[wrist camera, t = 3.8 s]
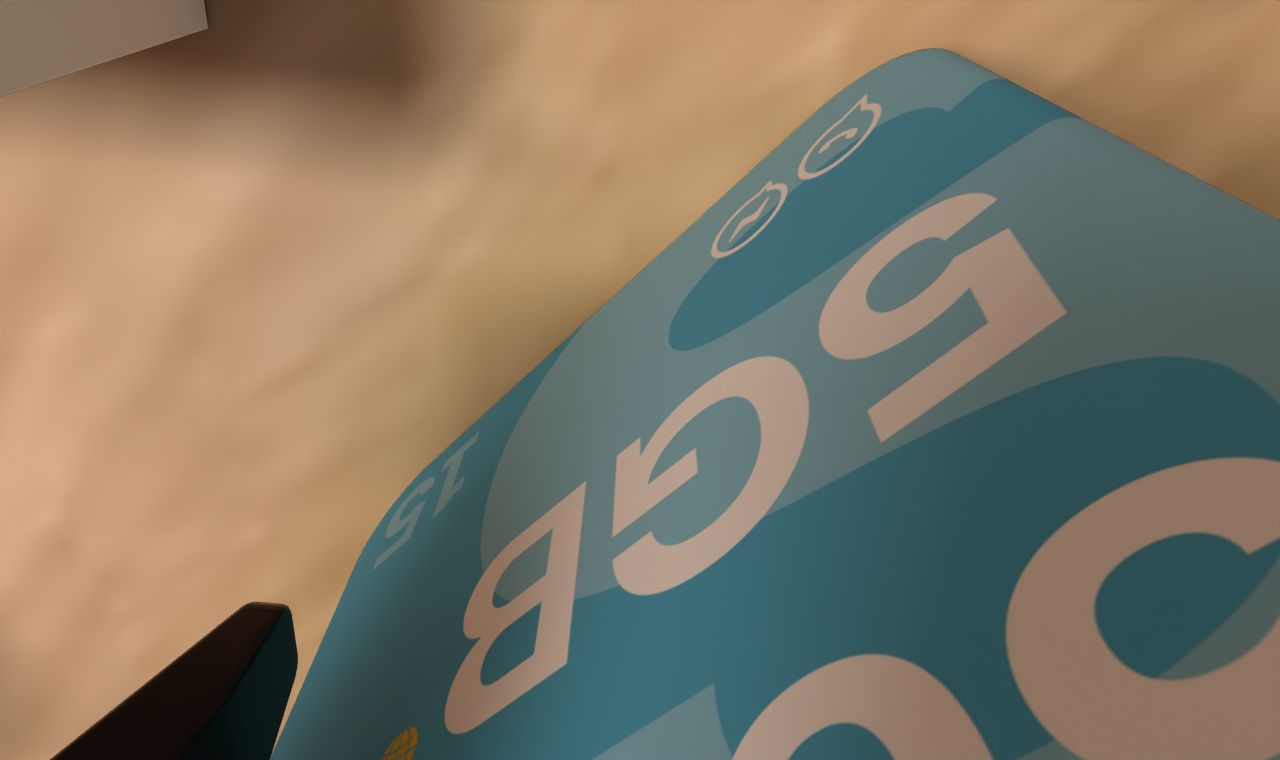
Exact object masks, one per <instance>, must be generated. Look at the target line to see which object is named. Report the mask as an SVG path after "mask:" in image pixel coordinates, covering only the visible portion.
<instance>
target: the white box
mask: <svg viewBox="0 0 1280 760" xmlns="http://www.w3.org/2000/svg"><path fill="white" fill-rule="evenodd" d="M205 29H208V24H207V18H206V11H205V4H204V0H0V97H1V96H4V95H7V94H10V93H13V92H16V91H19V90H22V89H25V88H28V87H31V86H34V85H37V84H40V83H43V82H47V81H50V80H53V79H56V78H59V77H62V76H65V75H68V74H71V73H74V72H77V71H80V70H83V69H86V68H89V67H92V66H95V65H98V64H101V63H104V62H108V61H111V60H114V59H117V58H120V57H123V56H126V55H129V54H132V53H135V52H138V51H141V50H144V49H147V48H150V47H153V46H156V45H159V44H162V43H165V42H169V41H172V40H175V39H178V38H181V37H184V36H187V35H190V34H193V33H196V32H199V31H202V30H205Z"/></svg>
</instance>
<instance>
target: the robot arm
mask: <svg viewBox="0 0 1280 760" xmlns="http://www.w3.org/2000/svg"><path fill="white" fill-rule="evenodd" d="M297 664H298V653H297V647H296V640H295V633H294V626H293V620H292V614H291V611H290V609H289V607H288V606H287V605H284V604H278V603H265V602H251V603H248V604H246V605H244V606H242V607H241V608H240V609H239V610H237V611H236V612H235V613H234V614H232V615H231V616H230V617H228V618H227V619H226V620H225V621H223V622H222V623H221V624H220V625H218V626H217V627H216V628H215V629H213V630H212V631H211V632H210V633H208V634H207V635H206V636H205V637H203V638H202V639H201V640H200V641H198V642H197V643H196V644H195V645H193V646H192V647H191V648H190V649H188V650H187V651H186V652H184V653H183V654H182V655H181V656H179V657H178V658H177V659H176V660H174V661H173V662H172V663H171V664H169V665H168V666H167V667H166V668H164V669H163V670H162V671H161V672H159V673H158V674H157V675H156V676H154V677H153V678H152V679H151V680H149V681H148V682H147V683H146V684H144V685H143V686H142V687H141V688H139V689H138V690H137V691H135V692H134V693H133V694H132V695H130V696H129V697H128V698H127V699H125V700H124V701H123V702H122V703H120V704H119V705H118V706H117V707H115V708H114V709H113V710H112V711H110V712H109V713H108V714H107V715H105V716H104V717H103V718H102V719H100V720H99V721H98V722H97V723H95V724H94V725H93V726H92V727H90V728H89V729H88V730H86V731H85V732H84V733H83V734H81V735H80V736H79V737H78V738H76V739H75V740H74V741H73V742H71V743H70V744H69V745H68V746H66V747H65V748H64V749H63V750H61V751H60V752H59V753H58V754H56V755H55V756H54V757H53V758H51V759H50V760H270V757H271V754H272V751H273V748H274V745H275V741H276V738H277V735H278V732H279V728H280V725H281V722H282V719H283V715H284V712H285V709H286V706H287V702H288V699H289V696H290V693H291V689H292V686H293V683H294V680H295V676H296V671H297Z"/></svg>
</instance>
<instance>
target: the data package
mask: <svg viewBox="0 0 1280 760" xmlns="http://www.w3.org/2000/svg"><path fill="white" fill-rule="evenodd" d="M270 760H1280V221H1279V220H1277V219H1276V218H1274V217H1272V216H1270V215H1268V214H1266V213H1264V212H1262V211H1260V210H1258V209H1256V208H1254V207H1252V206H1250V205H1248V204H1246V203H1245V202H1243V201H1241V200H1239V199H1237V198H1235V197H1233V196H1231V195H1229V194H1227V193H1225V192H1223V191H1221V190H1219V189H1217V188H1216V187H1214V186H1212V185H1210V184H1208V183H1206V182H1204V181H1202V180H1200V179H1198V178H1196V177H1194V176H1192V175H1190V174H1188V173H1187V172H1185V171H1183V170H1181V169H1179V168H1177V167H1175V166H1173V165H1171V164H1169V163H1167V162H1165V161H1163V160H1161V159H1159V158H1157V157H1156V156H1154V155H1152V154H1150V153H1148V152H1146V151H1144V150H1142V149H1140V148H1138V147H1136V146H1134V145H1132V144H1130V143H1128V142H1127V141H1125V140H1123V139H1121V138H1119V137H1117V136H1115V135H1113V134H1111V133H1109V132H1107V131H1105V130H1103V129H1101V128H1099V127H1098V126H1096V125H1094V124H1092V123H1090V122H1088V121H1086V120H1084V119H1082V118H1080V117H1078V116H1076V115H1074V114H1072V113H1070V112H1069V111H1067V110H1065V109H1063V108H1061V107H1059V106H1057V105H1055V104H1053V103H1051V102H1049V101H1047V100H1045V99H1043V98H1041V97H1039V96H1038V95H1036V94H1034V93H1032V92H1030V91H1028V90H1026V89H1024V88H1022V87H1020V86H1018V85H1016V84H1014V83H1012V82H1010V81H1009V80H1007V79H1005V78H1003V77H1001V76H999V75H997V74H995V73H993V72H991V71H989V70H987V69H985V68H983V67H981V66H980V65H978V64H976V63H974V62H972V61H970V60H968V59H966V58H964V57H962V56H960V55H958V54H956V53H954V52H952V51H948V50H945V49H933V48H931V49H923V50H918V51H914V52H911V53H907V54H905V55H902V56H900V57H897V58H895V59H892V60H890V61H888V62H886V63H884V64H882V65H880V66H879V67H877V68H875V69H873V70H872V71H870V72H868V73H867V74H865V75H864V76H862V77H860V78H859V79H857V80H856V81H855V82H853V83H852V84H850V85H849V86H847V87H846V88H845V89H843V90H842V91H841V92H839V93H838V94H837V95H835V96H834V97H833V98H832V99H830V100H829V101H828V102H827V103H825V104H824V105H823V106H822V107H821V108H820V109H818V110H817V111H816V112H815V113H814V114H813V115H812V116H811V117H809V118H808V119H807V120H806V121H805V122H804V123H803V124H802V125H801V126H800V127H798V128H797V129H796V130H795V131H794V132H793V133H792V134H791V135H790V136H789V137H788V138H786V139H785V140H784V141H783V142H782V143H781V144H780V145H779V146H778V147H777V148H775V149H774V150H773V151H772V152H771V153H770V154H769V155H768V156H767V157H766V158H765V159H763V160H762V161H761V162H760V163H759V164H758V165H757V166H756V167H755V168H754V169H752V170H751V171H750V172H749V173H748V174H747V175H746V176H745V177H744V178H743V179H742V180H740V181H739V182H738V183H737V184H736V185H735V186H734V187H733V188H732V189H731V190H729V191H728V192H727V193H726V194H725V195H724V196H723V197H722V198H721V199H720V200H719V201H717V202H716V203H715V204H714V205H713V206H712V207H711V208H710V209H709V210H708V211H706V212H705V213H704V214H703V215H702V216H701V217H700V218H699V219H698V220H697V221H696V222H694V223H693V224H692V225H691V226H690V227H689V228H688V229H687V230H686V231H685V232H683V233H682V234H681V235H680V236H679V237H678V238H677V239H676V240H675V241H674V242H673V243H671V244H670V245H669V246H668V247H667V248H666V249H665V250H664V251H663V252H662V253H660V254H659V255H658V256H657V257H656V258H655V259H654V260H653V261H652V262H651V263H650V264H648V265H647V266H646V267H645V268H644V269H643V270H642V271H641V272H640V273H639V274H637V275H636V276H635V277H634V278H633V279H632V280H631V281H630V282H629V283H628V284H627V285H625V286H624V287H623V288H622V289H621V290H620V291H619V292H618V293H617V294H616V295H614V296H613V297H612V298H611V299H610V300H609V301H608V302H607V303H606V304H605V305H604V306H602V307H601V308H600V309H599V310H598V311H597V312H596V313H595V314H594V315H593V316H591V317H590V318H589V319H588V320H587V321H586V322H585V323H584V324H583V325H582V326H581V327H579V328H578V329H577V330H576V331H575V332H574V333H573V334H572V335H571V336H570V337H568V338H567V339H566V340H565V341H564V342H563V343H562V344H561V345H560V346H559V347H558V348H556V349H555V350H554V351H553V352H552V353H551V354H550V355H549V356H548V357H547V358H545V359H544V360H543V361H542V362H541V363H540V364H539V365H538V366H537V367H536V368H535V369H533V370H532V371H531V372H530V373H529V374H528V375H527V376H526V377H525V378H524V379H522V380H521V381H520V382H519V383H518V384H517V385H516V386H515V387H514V388H513V389H512V390H510V391H509V392H508V393H507V394H506V395H505V396H504V397H503V398H502V399H501V400H499V401H498V402H497V403H496V404H495V405H494V406H493V407H492V408H491V409H490V410H489V411H487V412H486V413H485V414H484V415H483V416H482V417H481V418H480V419H479V420H478V421H476V422H475V423H474V424H473V425H472V426H471V427H470V428H469V429H468V430H467V431H466V432H464V433H463V434H462V435H461V436H460V437H459V438H458V439H457V440H456V441H455V442H453V443H452V444H451V445H450V446H449V447H448V448H447V449H446V450H445V451H444V452H443V453H441V454H440V455H439V456H438V457H437V458H436V459H435V460H434V461H433V462H432V463H430V464H429V465H428V466H427V467H426V468H425V469H424V470H423V471H422V472H421V473H420V474H419V475H418V476H417V477H416V478H415V479H414V480H413V482H412V483H411V484H410V485H409V486H408V487H407V488H406V489H405V491H404V492H403V493H402V494H401V495H400V497H399V498H398V499H397V500H396V502H395V503H394V504H393V505H392V507H391V508H390V509H389V511H388V512H387V513H386V515H385V516H384V518H383V519H382V520H381V522H380V523H379V525H378V526H377V528H376V529H375V531H374V532H373V534H372V536H371V537H370V539H369V540H368V542H367V544H366V546H365V547H364V549H363V551H362V553H361V555H360V556H359V558H358V560H357V563H356V565H355V567H354V569H353V571H352V574H351V576H350V578H349V580H348V583H347V585H346V587H345V590H344V592H343V594H342V596H341V599H340V601H339V603H338V606H337V608H336V610H335V612H334V615H333V617H332V619H331V622H330V624H329V626H328V628H327V631H326V633H325V635H324V637H323V640H322V642H321V644H320V647H319V649H318V651H317V653H316V656H315V658H314V660H313V663H312V665H311V667H310V669H309V672H308V674H307V676H306V679H305V681H304V683H303V685H302V688H301V690H300V692H299V694H298V697H297V699H296V701H295V704H294V706H293V708H292V710H291V713H290V715H289V717H288V720H287V722H286V724H285V726H284V729H283V731H282V733H281V736H280V738H279V740H278V742H277V745H276V747H275V749H274V752H273V754H272V756H271V758H270Z"/></svg>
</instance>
